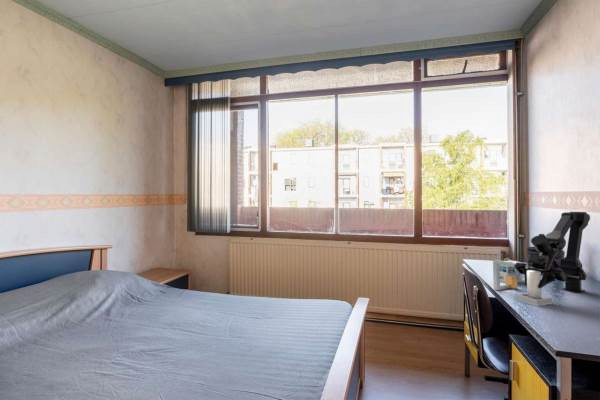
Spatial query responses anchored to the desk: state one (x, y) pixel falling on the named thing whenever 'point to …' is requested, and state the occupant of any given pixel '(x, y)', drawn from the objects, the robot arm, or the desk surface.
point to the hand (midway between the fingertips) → (532, 286)
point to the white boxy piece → (510, 280)
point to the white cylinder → (533, 284)
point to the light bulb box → (510, 272)
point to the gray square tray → (534, 300)
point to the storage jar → (531, 251)
